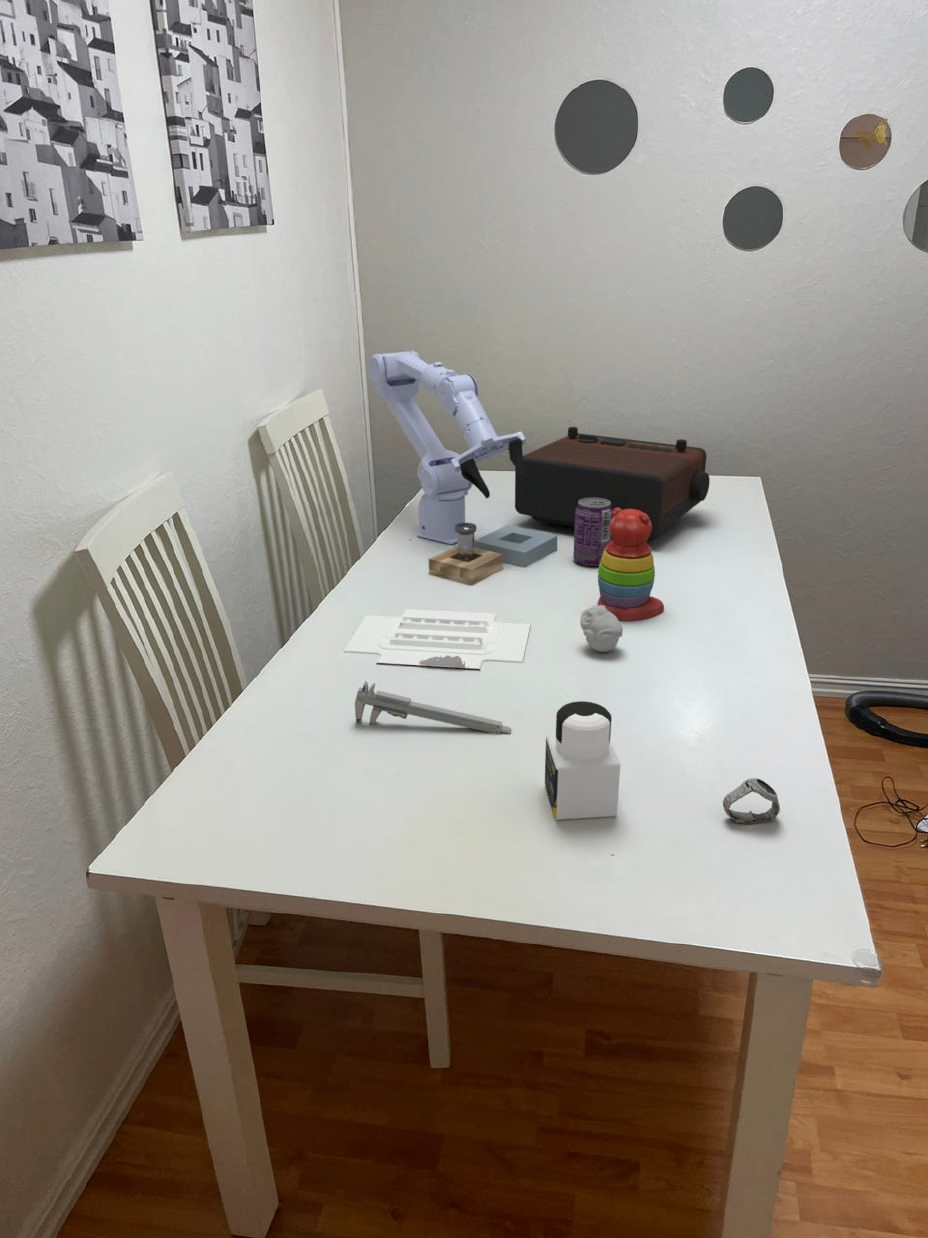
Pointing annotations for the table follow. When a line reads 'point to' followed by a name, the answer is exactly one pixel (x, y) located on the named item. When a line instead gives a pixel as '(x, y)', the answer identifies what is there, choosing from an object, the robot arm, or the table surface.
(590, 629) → the frog figurine
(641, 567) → the stacking bear
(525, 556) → the dock
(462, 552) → the pin
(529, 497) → the radio receiver
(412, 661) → the tray
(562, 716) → the medicine bottle
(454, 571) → the mount
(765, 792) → the wristwatch
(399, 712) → the caliper
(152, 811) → the table surface
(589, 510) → the beverage can
